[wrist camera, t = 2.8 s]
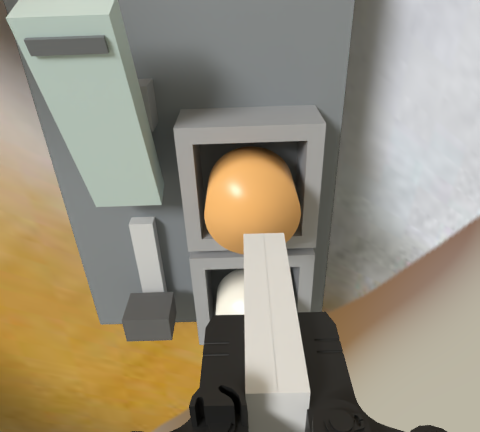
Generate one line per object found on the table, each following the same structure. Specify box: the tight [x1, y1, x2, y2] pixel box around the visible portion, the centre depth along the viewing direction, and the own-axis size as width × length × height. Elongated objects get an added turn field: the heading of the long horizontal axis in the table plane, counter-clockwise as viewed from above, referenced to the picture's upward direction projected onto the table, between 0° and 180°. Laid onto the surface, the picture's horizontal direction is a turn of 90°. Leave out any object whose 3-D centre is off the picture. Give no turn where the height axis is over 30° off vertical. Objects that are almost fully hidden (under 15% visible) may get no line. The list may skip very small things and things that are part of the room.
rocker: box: [6, 0, 164, 207], centre depth 18 cm, size 4×10×2 cm, turn 2°
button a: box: [216, 268, 244, 315], centre depth 23 cm, size 4×4×3 cm
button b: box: [204, 146, 301, 254], centre depth 19 cm, size 4×4×3 cm
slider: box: [122, 292, 177, 341], centre depth 25 cm, size 3×2×2 cm, turn 92°
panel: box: [4, 0, 355, 345], centre depth 23 cm, size 16×23×7 cm
